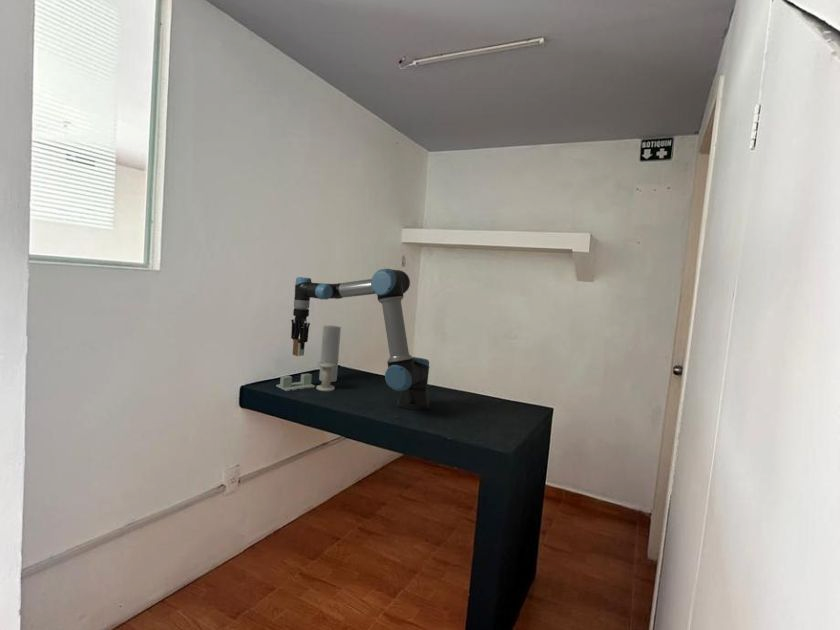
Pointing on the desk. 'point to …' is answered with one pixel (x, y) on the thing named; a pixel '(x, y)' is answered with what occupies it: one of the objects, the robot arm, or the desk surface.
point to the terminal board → (288, 385)
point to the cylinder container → (330, 349)
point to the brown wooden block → (296, 346)
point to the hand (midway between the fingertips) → (298, 354)
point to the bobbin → (326, 376)
